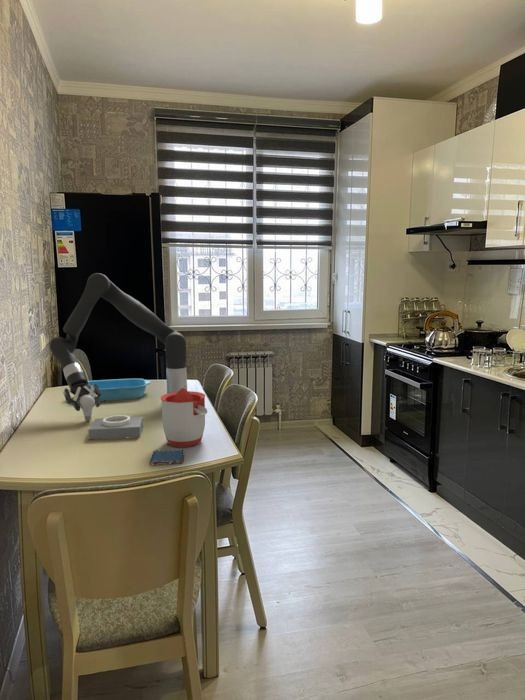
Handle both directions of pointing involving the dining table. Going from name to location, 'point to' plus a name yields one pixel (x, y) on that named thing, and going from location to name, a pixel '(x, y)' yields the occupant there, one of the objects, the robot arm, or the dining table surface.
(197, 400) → the citrus juicer
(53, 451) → the dining table surface
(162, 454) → the woven mat
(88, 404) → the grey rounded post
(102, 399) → the casserole dish
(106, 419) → the grey ring holder base
